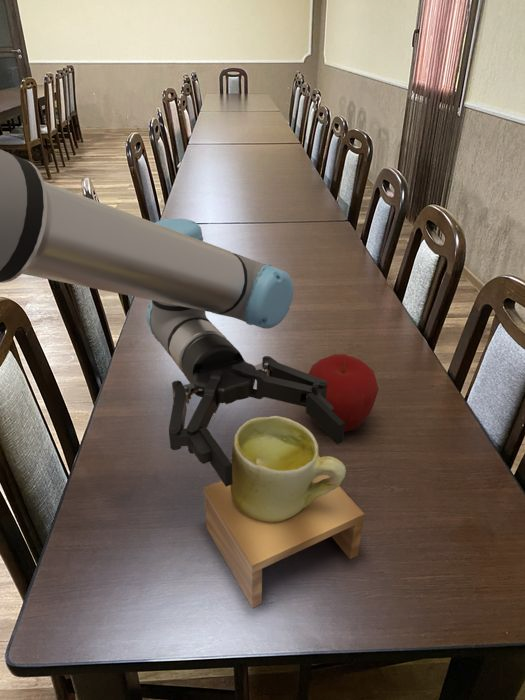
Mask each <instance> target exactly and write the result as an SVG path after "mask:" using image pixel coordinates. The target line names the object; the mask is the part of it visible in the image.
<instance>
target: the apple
mask: <svg viewBox="0 0 525 700" xmlns="http://www.w3.org/2000/svg"><path fill="white" fill-rule="evenodd" d="M308 374H310V375H312V376H315V377H317V378H320V379H323V380H325V381H327V395H326V400H327V401H328V402H329V403H330V404H331V405H332V406H333V408H334V413H335V414H336V415H337V416H338V417H339V418H340V419H341V420H342V421H343V422H344V423H345V428H344V433H345V432H349V431H353V430H355V429H357V428H358V427H359V426H360V425H361V424H362V423H363V422H364V421H365V419H367V417H368V416H370V414H371V412H372V410H373V408H374V406H375V402H376V399H377V395H378V392H379V385H378V382H377V378H376V377H377V376H376V373H375V371H374V370H373V369H372V368H371V367H370V366H369V365H368V364H366V362H364V361H363V360H361V359H358V358H357V357H354V356H352V355H348V354H345V353H343V354H340V353H339V354H338V353H337V354H335V353H334V354H332V355H330V356H329V355H328V356H326V357H323V358H321V359H319V360H317V361H316V362H315V363H313V364H312V366H311V367H310V369H309V371H308Z"/></svg>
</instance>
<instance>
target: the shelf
mask: <svg viewBox="0 0 525 700" xmlns="http://www.w3.org/2000/svg"><path fill="white" fill-rule="evenodd" d="M327 478H329V476H328V475H320V476H317V477H316V478H315V479H314V480H313V481H312V482H313V483H317V482H319V481H321V480H323V479H327ZM203 492H204V505H205V507H204V508H205V522H206V530H207V532H208V533H209V535H210V537H211V539H212V540H213V542H214V544H215V546H216V547H217V549H218V551H219V553H220V555H221V556H222V558H223V560H224V562H225V563H226V565H227V567H228V569H229V570H230V572H231V573H232V575H233V577H234V579H235V580H236V583H237V585H238V586H239V588H240V590H241V591H242V593H243V595H244V597H245V598H246V600H247V601H248V603H249V606H250V607H251V608H252V609H253V608H255V607H258V606H259V605H261V604H262V603H263V569H264V568H266V567H269V566H270V565H273V564H275V563H277V562H279V561H282V560H283V559H286V558H288V557H290V556H292V555H295V554H297V553H299V552H300V551H303V550H305V549H307V548H309V547H311V546H314V545H316V544H318V543H320V542H322V541H324V540H326V539H328V538H330V537H331V538H332V539H333V540H334V542H335V543H336V544H337V545H338V546H339V548H340V549H341V550H342V551H343V553H344V554H345V555H346V557H347V558H348V559H349V560H351V559H354V558H355V557H358V556H359V552H360V544H361V537H362V531H363V524H364V519H365V512H363V511H362V509H361V508H360V507H359V506H358V505H357V504H356V503H355V501H353V500H352V498H351V497H350V496H349V495H348V494H347V493H346V492H345V491H344V489H343V488H342V487H341V485H339V486H338V487H337V488H336V489H334V490H331V491H330V492H328V493H327V494H324V495H322V496H319V497H317V498H316V499H314V500H313V501H312V502H311V503H310V504H309V505H308V506H307V507H305V508H303V509H302V510H301V511H300V512H299V513H297V514H296V515H294V516H293V517H290V518H288V519H285V520H283V521H279V522H268V521H261V520H258V519H255V518H252V517H249V516H247V515H245V514H244V513H243V512H242V511H241V510H240V509H239V508H238V506H237V505H236V504H235V502H234V500H233V497H232V494H231V486H230V485H229V486H227V487H226V486H225V485H224V483H223V482H222V480H220V481H218V482H215V483H213V484H210V485H206V486H204V487H203Z"/></svg>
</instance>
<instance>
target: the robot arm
mask: <svg viewBox="0 0 525 700" xmlns="http://www.w3.org/2000/svg"><path fill="white" fill-rule="evenodd" d="M21 275H26V276H31V277H36V278H41V279H46V280H49V281H55V282H60V283H65V284H69V285H74V286H79V287H83V288H84V287H85V288H91V289H94V290H99V291H105V292H110V293H115V294H119V295H124V296H129V297H134V298H139V299H143V300H144V299H145V300H149V301H150V302H149V305H148V307H147V310H146V317H145V318H146V323H147V325H148V327H149V329H150V332H151V334H152V335H153V336H154V338H155V339H156V341H157V342H159V344H160V345H161V346H162V348H163V349H164V351H166V353H167V354H168V355H169V357H170V358H171V359H172V361H173V362H174V364H175V365H176V366H177V367H178V369H179V370H180V371H181V373H182V374H183V376H184V377H185V378H186V380H187V381H188V382H189V383H187V384H183V382H182V381H180V380H174V381H173V382H171V390H172V400H173V403H172V409H171V414H170V419H169V425H168V438H169V447H170V449H171V450H172V451H178V450H181V449H182V447H187V448H188V449H187V450H188V453H189V454H190V455H191V454H192V455H195V457H196V458H197V461H199V463H201V464H203V465H206V464H208V463H210V465H211V466H212V468H213V470H214V471H215V473H216V474H217V476H218V478H219V479H220V481H222V482H223V483H224V485H225V486H226V487H227V486H229V485H232V484H233V478H232V461H231V460H230V459H229V457H228V456H227V454H226V453H225V452H224V451H223V449H222V448H221V446H220V445H219V443H218V441H216V439H215V437H214V436H213V435H212V433H211V431H209V429H208V427H209V425H210V423H211V421H212V418H213V417H214V414H216V413H217V412H218V409H219V407H220V404H225V405H229V404H232V403H234V402H236V401H239V400H245V399H248V398H249V399H250V398H253V399H256V400H262V399H263V398H265V399H270V400H275V401H278V402H283V403H287V404H290V405H291V404H292V405H296V406H300V407H304V408H305V413H306V414H307V415H308V416H309V417H310V418H311V419H312V421H314V422H315V424H316V425H318V427H320V429H321V430H322V431H323V432H324V433H325V434H326V435H327V436H328V437H330V439H331V440H332V441H333V442H334V443H335V444H336V445H340V444H342V443H344V436H345V432H344V428H345V423H344V422H343V421H342V420H341V419H340V418H339V417H338V416H337V415H336V414H335V413H334V408H333V406H332V405H331V404H330V403H329V402H328V401H327V400H326V395H327V381H325V380H323V379H320V378H317V377H315V376H312V375H310V374H309V373H306V372H304V371H301V370H299V369H296V368H293V367H291V366H288V365H286V364H283V363H281V362H279V361H277V360H276V359H274V358H273V357H271V356H269V355H264V356H262V362H260V363H257V364H252V363H249V362H247V361H246V360H245V359H244V357H243V355H242V354H241V352H240V351H239V350H238V348H236V347H235V346H234V344H233V343H232V342H231V341H230V340H229V339H227V337H226V335H224V333H222V331H220V329H218V327H216V326H215V324H213V323H212V322H211V321H210V320H209V318H208V317H207V315H206V312H207V313H208V312H209V313H211V314H215V315H219V316H224V317H228V318H233V319H236V320H239V321H242V322H245V323H246V324H247V325H248V326H255V327H257V328H258V327H259V328H261V329H267V330H268V329H272V328H275V327H276V326H278V325H279V324H280V323H281V322H282V321H284V319H285V318H286V316H287V315H288V313H289V311H290V307H291V305H292V302H293V299H294V284H293V279H292V278H291V276H290V275H289V273H288V272H286V271H285V270H283V269H280V268H277V267H276V266H275V267H274V266H273V265H272V264H269V263H263V262H260V261H257V260H255V259H252V258H249V257H245V256H244V255H241V254H238V253H235V252H232V251H230V250H228V249H225V248H222V247H219V246H217V245H214V244H212V243H209V242H206V241H205V240H204V236H203V232H202V228H201V226H200V225H199V224H198V223H197V222H196V221H194V220H191V219H188V218H187V219H186V218H166V219H162V220H158V221H155V222H153V221H151V220H148V219H145V218H143V217H140V216H138V215H135V214H132V213H130V212H127V211H124V210H121V209H118V208H116V207H113V206H111V205H108V204H105V203H103V202H101V201H98V200H95V199H92V198H90V197H86V196H85V195H81V194H79V193H76V192H74V191H71V190H68V189H65V188H63V187H60V186H58V185H55V184H52V183H50V182H47V181H45V180H44V178H43V176H42V173H41V171H40V170H39V169H38V167H37V166H36V165H35V164H34V163H33V162H31V161H29V160H27V159H25V158H22V157H19V156H17V155H14V154H12V153H9V152H7V151H5V150H3V149H0V283H1V284H2V283H4V284H5V283H9V282H12V281H14V280H16V279H18V278H19V277H20V276H21ZM255 384H256V388H255ZM193 395H195V396H197V397H198V398H201V399H200V401H199V403H198V405H197V407H196V408H195V411H194V412H193V413H192V414H193V415H192V416H191V418H190V420H189V422H188V424H187V426H186V428H185V424H186V418H187V417H186V416H187V409H188V408H187V407H188V406H187V405H189V403H190V400H191V399H192V397H193Z"/></svg>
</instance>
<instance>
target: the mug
mask: <svg viewBox="0 0 525 700" xmlns="http://www.w3.org/2000/svg"><path fill="white" fill-rule="evenodd" d="M231 448H232V449H231V450H232V451H231V460H230V462H231V463H232V478H233V484H232V485H230V486H231V494H232V497H233V500H234V502H235V504H236V505H237V506H238V508H239V509H240V510H241V511H242V512H243V513H244V514H245V515H247V516H249V517H252V518H255V519H258V520H261V521H268V522H279V521H283V520H285V519H288V518H290V517H293V516H294V515H296V514H297V513H299V512H300V511H301V510H302V509H303V508H305V507H307V506H308V505H309V504H310V503H311V502H312V501H313V500H314V499H316V498H317V497H319V496H322V495H324V494H327V493H328V492H330V491H331V490H334V489H336V488H337V487H338V486H341V484H342V482H343V481H344V480H345V477H346V474H347V469H346V466H345V463H344V462H342V461H341V460H340V459H338V458H336V457H334V456H331V455H324V456H323V455H322V456H320V454H319V444H318V441H317V439H316V437H315V436H314V434H313V433H312V432H311V430H309V429H308V428H307V427H305V426H304V425H302V424H301V423H300V422H297V421H295V420H293V419H291V418H288V417H284V416H279V415H271V416H268V417H263V416H262V417H261V416H260V417H254V418H250V419H249V420H247V421H245V422H244V423H243V424H242V425H240V427H239V428H238V429H237V431H236V433H234V436H233V442H232V447H231ZM320 475H328V476H329V478H327V479H323V480H321V481H319V482H317V483H313V482H312V481H313V480H314V479H315V478H316V477H317V476H320Z"/></svg>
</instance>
